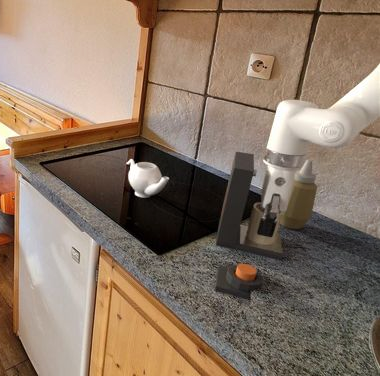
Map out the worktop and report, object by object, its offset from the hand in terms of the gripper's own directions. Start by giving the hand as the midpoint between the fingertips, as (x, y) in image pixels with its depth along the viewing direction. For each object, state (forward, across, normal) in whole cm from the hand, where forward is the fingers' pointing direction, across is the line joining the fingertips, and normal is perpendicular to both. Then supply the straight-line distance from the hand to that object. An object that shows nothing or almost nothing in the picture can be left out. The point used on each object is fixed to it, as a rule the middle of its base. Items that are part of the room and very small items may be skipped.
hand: (264, 226), depth 96 cm
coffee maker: (+5, 0, +2) cm, 5 cm away
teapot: (+5, +14, +32) cm, 35 cm away
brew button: (+2, -20, +3) cm, 20 cm away
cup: (+3, 0, 0) cm, 3 cm away
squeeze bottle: (+5, +14, -8) cm, 17 cm away
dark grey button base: (+5, -20, +4) cm, 21 cm away
